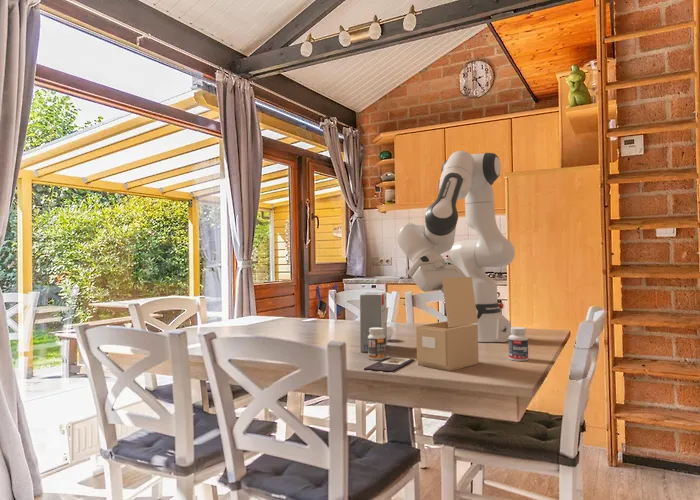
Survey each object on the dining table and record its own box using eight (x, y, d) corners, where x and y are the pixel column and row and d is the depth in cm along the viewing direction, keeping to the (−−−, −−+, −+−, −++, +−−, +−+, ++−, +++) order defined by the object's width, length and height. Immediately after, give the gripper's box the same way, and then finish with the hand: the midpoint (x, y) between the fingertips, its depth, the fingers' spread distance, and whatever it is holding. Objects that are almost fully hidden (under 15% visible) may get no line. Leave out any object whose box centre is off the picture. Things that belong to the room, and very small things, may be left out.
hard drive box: (381, 352, 182) (380, 294, 182) (359, 352, 183) (358, 295, 183) (387, 345, 197) (386, 291, 197) (367, 344, 198) (366, 291, 198)
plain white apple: (373, 341, 205) (373, 321, 205) (378, 338, 212) (377, 318, 212) (391, 342, 203) (390, 321, 203) (395, 339, 210) (394, 319, 210)
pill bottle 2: (512, 361, 163) (511, 329, 163) (506, 357, 169) (505, 326, 169) (531, 361, 163) (530, 329, 163) (524, 357, 169) (524, 326, 169)
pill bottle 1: (380, 361, 168) (380, 329, 168) (365, 359, 170) (364, 328, 171) (388, 358, 172) (388, 327, 172) (373, 356, 175) (372, 326, 175)
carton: (447, 357, 170) (446, 320, 171) (479, 363, 161) (478, 324, 161) (415, 365, 161) (414, 325, 161) (447, 371, 151) (447, 329, 151)
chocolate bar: (364, 368, 155) (388, 357, 171) (364, 371, 155) (388, 360, 171) (392, 370, 151) (414, 359, 167) (392, 374, 151) (414, 362, 167)
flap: (476, 322, 161) (470, 276, 162) (478, 322, 160) (471, 276, 162) (448, 327, 152) (441, 278, 153) (449, 327, 152) (443, 278, 153)
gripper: (446, 271, 174) (471, 302, 166) (403, 273, 160) (428, 307, 153) (457, 257, 170) (483, 288, 163) (414, 258, 157) (440, 293, 149)
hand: (456, 298), depth 158 cm, fingers closed
